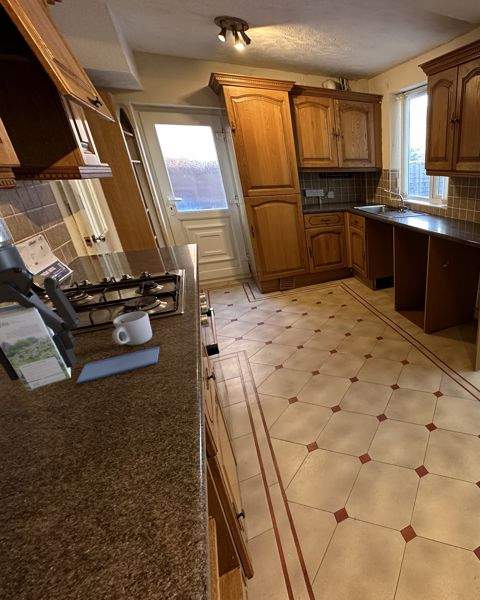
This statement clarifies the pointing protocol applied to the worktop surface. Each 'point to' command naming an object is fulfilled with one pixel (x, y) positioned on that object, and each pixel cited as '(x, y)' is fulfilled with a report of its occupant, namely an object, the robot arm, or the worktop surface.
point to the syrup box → (31, 347)
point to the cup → (132, 328)
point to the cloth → (118, 364)
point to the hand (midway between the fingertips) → (45, 369)
